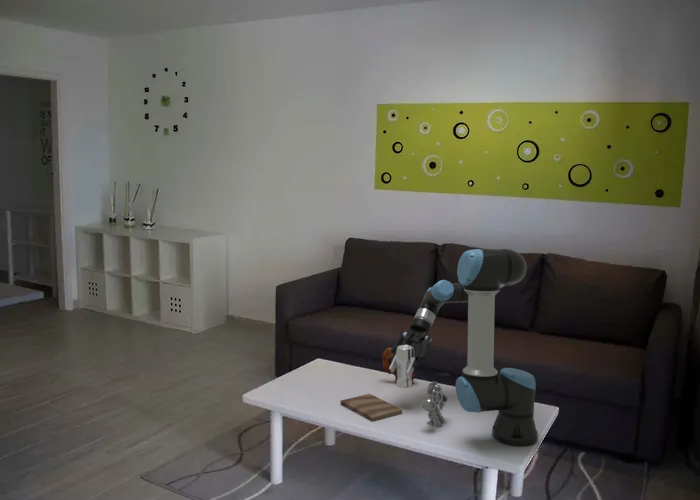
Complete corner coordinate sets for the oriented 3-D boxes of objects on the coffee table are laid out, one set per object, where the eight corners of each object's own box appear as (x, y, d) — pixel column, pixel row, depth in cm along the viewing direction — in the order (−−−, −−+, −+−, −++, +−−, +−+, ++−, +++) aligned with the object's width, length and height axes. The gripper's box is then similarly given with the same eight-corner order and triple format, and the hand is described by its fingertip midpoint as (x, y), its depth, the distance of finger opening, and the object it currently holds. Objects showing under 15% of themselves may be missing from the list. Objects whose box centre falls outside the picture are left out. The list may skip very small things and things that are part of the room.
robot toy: (433, 433, 221) (434, 391, 219) (417, 429, 224) (418, 388, 222) (450, 419, 233) (451, 380, 231) (434, 416, 236) (436, 376, 234)
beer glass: (392, 383, 246) (393, 345, 244) (408, 381, 248) (409, 344, 247) (399, 389, 240) (400, 350, 238) (416, 387, 242) (417, 348, 240)
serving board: (402, 413, 238) (402, 409, 238) (372, 421, 230) (372, 417, 230) (369, 397, 254) (369, 393, 254) (340, 404, 246) (340, 400, 246)
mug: (415, 380, 275) (417, 346, 273) (416, 386, 267) (417, 352, 265) (381, 378, 277) (382, 344, 275) (380, 385, 269) (381, 350, 267)
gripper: (448, 331, 248) (426, 382, 237) (404, 324, 260) (381, 372, 249) (442, 320, 243) (419, 372, 232) (397, 313, 255) (374, 362, 244)
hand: (399, 372), depth 241 cm, fingers closed on beer glass, 7 cm apart
